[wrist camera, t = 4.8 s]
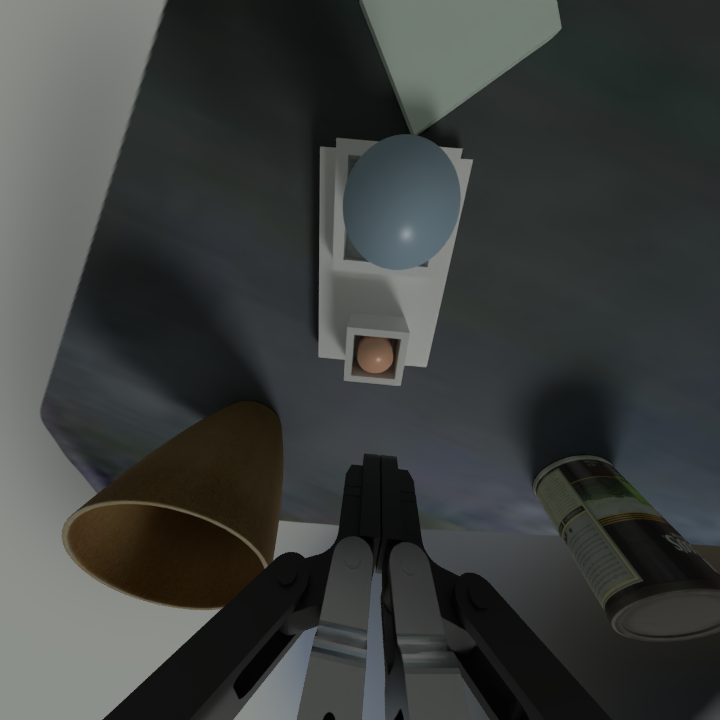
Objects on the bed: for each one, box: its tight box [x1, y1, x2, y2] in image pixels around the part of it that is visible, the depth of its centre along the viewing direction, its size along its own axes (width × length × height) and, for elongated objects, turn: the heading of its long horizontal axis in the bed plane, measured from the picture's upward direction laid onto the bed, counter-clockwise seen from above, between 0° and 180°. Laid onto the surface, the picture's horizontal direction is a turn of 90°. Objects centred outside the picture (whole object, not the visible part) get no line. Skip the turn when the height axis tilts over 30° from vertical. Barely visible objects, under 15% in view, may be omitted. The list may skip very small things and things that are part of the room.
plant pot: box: [62, 401, 283, 610], centre depth 27 cm, size 15×15×16 cm
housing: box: [319, 138, 473, 386], centre depth 22 cm, size 11×17×6 cm, turn 176°
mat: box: [359, 0, 561, 135], centre depth 17 cm, size 10×8×1 cm
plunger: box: [357, 335, 393, 373], centre depth 23 cm, size 3×3×4 cm
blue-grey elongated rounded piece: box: [343, 134, 461, 270], centre depth 16 cm, size 5×5×10 cm
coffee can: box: [533, 455, 720, 642], centre depth 29 cm, size 10×10×14 cm
